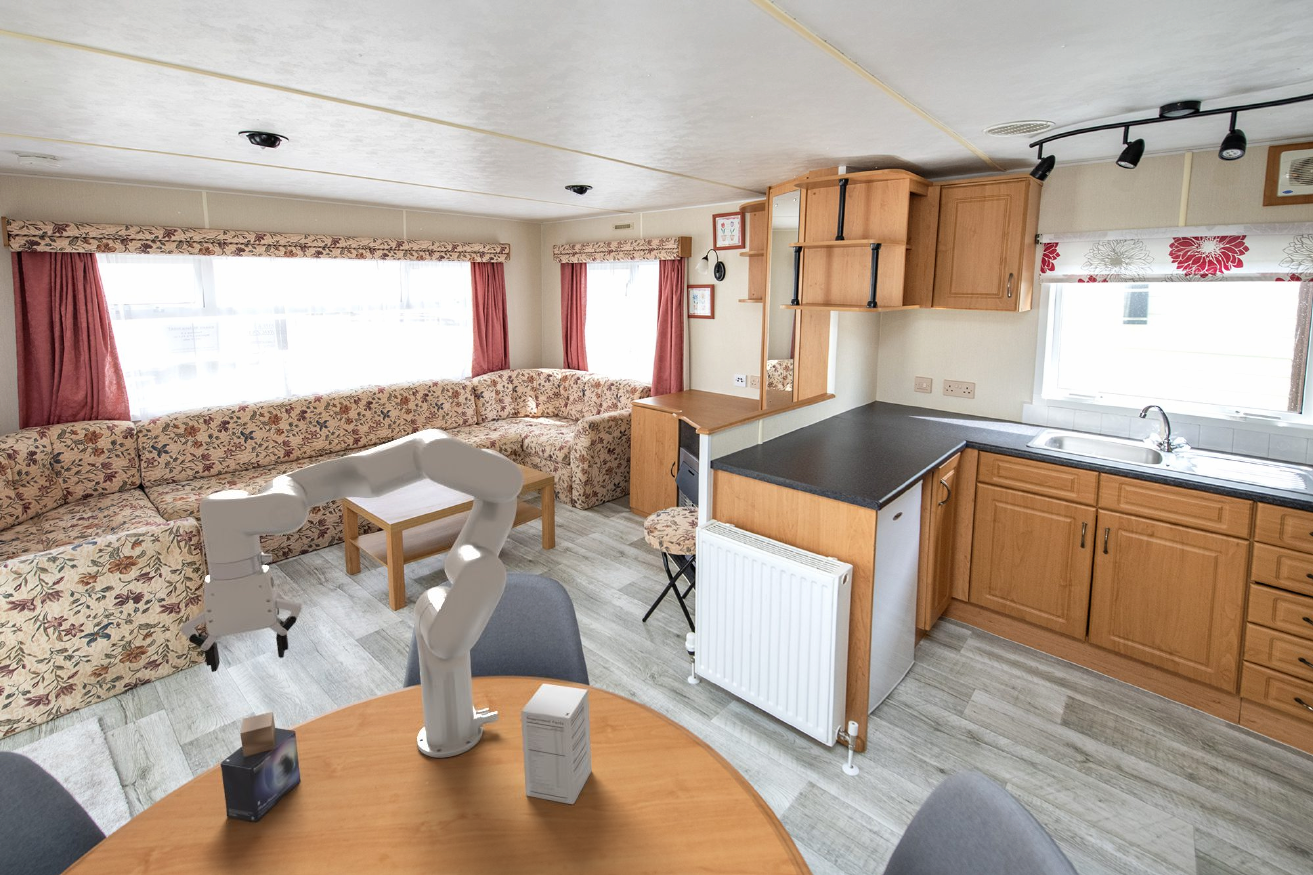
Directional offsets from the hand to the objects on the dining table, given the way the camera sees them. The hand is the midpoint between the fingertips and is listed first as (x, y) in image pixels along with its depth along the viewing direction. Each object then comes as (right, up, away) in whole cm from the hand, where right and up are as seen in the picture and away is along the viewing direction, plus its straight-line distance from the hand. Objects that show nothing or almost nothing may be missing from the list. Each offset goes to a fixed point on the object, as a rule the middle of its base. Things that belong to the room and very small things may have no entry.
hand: (249, 660), depth 110 cm
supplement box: (+51, -25, +8) cm, 58 cm away
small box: (0, -26, +5) cm, 27 cm away
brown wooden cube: (0, -16, +3) cm, 16 cm away
